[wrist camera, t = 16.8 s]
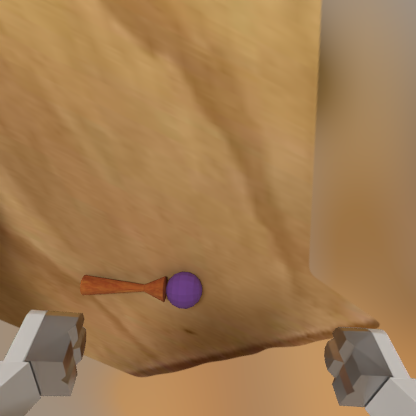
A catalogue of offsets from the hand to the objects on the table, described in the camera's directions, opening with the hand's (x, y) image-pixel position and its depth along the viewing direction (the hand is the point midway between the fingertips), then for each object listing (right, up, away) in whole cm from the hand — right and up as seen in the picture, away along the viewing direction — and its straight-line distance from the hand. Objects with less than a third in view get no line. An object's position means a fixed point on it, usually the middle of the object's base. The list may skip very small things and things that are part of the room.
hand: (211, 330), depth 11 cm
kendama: (-11, -8, +47) cm, 49 cm away
